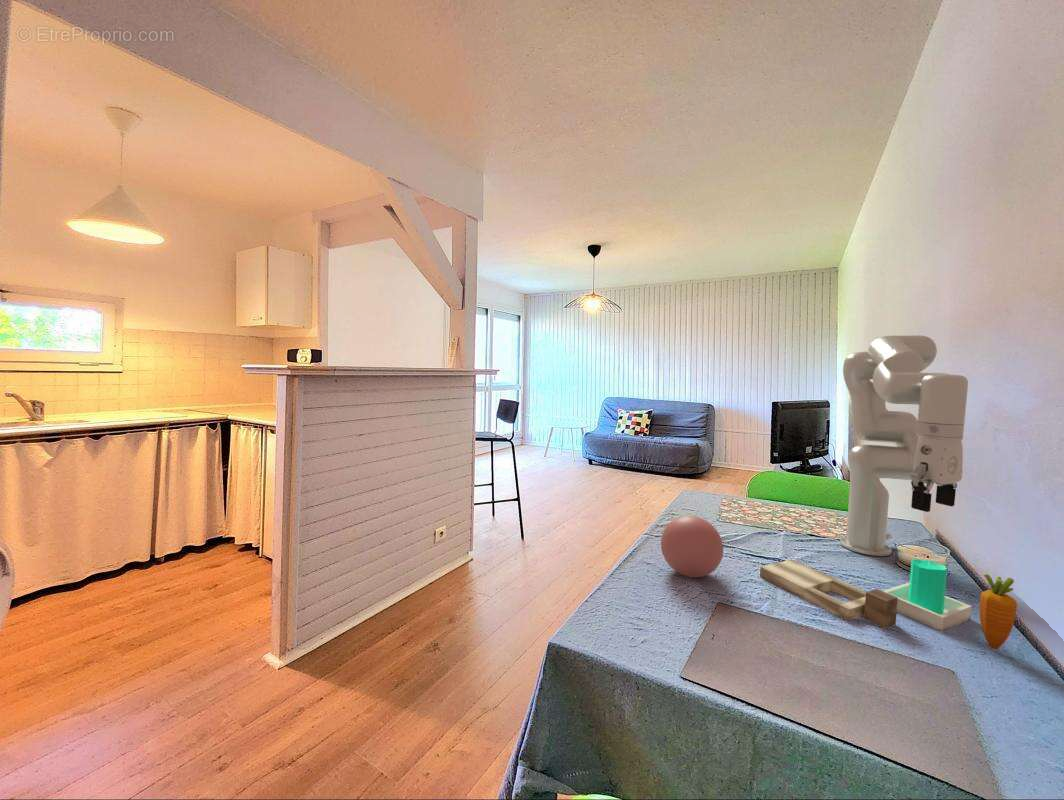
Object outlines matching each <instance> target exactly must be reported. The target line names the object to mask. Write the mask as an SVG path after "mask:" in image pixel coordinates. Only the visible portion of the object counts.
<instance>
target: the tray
mask: <svg viewBox="0 0 1064 800" xmlns="http://www.w3.org/2000/svg"><path fill="white" fill-rule="evenodd" d="M909 585H910V581H909V582H906V583H903V584H899V585H897V586H894V587H891V588H888V589H884V590H882V591H883V592H886V593H888V594H891V595H893V596H895V597H898V601H897V613H900V614H902V615H904V616H907V617H909V618H911V619H913V620H916V621H918V622H920V623H922V624H925V625H927V626H929V627H931V628H933V629H936V630H938V631H941V632H943V631H947V630H949V629H951V628H952V627H955V626H958V625H961V624H962V622H963V623H965V622H968V621H969V620H968V619H970V618H972V608H973V606H972V605H970V604H967V603H964V602H963V601H959V600H957V599H955V598H952V597H949V596H947V595H945V601H944V612H943V614H941V615H940V614H937V613H935V612H933V611H930V610H928V609H925V608H923V607H921V606H918V605H916V604H913V603H911V602H909V601H908V597H909ZM970 620H971V619H970Z"/></svg>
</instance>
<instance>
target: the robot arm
mask: <svg viewBox="0 0 1064 800" xmlns="http://www.w3.org/2000/svg"><path fill="white" fill-rule="evenodd" d="M937 352H938V349H937V345H936V343H935V341H934V340H933V339H932V338H931V337H929V336H926V335H920V334H919V335H915V334H914V335H913V334H911V335H885V336H881V337H877V338H876V339H874V340H873V341H872V342H871V343H870V345H869V346H868V351H859V352H853V353H851V354H849V355H847V356H846V358H844V361H843V368H842V375H843V381H844V383H845V386H846V388H847V390H848V393H849V396H850V401H851V402H850V403H851V404H850V405H851V421H852V423H851V424H852V425H851V426H852V431H853V435H854V437H855V438H856V439H858V440H860V441H866V442H878V443H891V444H892V443H894V444H895V445H896V446H889V445H881V444H880V445H878V444H860V445H855V446H854V447H852V448H851V449H850V450H849V452H848V455H847V457H848V458H847V461H848V470H849V495H848V507H847V508H848V511H847V522H846V523H847V524H846V536H843V537H840V539H839V543H840V544H839V545H841V546H843V547H844V548H846V549H847V550H850V551H853V552H855V553H859V554H862V555H863V554H864V555H867V556H872V557H873V556H875V557H885V556H886V557H889V556H890V555H891V554H892V548H891V547H890V545H887V544H886V541H887V540H890V539H891V540H892V537H893V536H892V534H891V533H890V532H887V528H888V527H887V525H888V517H889V513H888V512H889V504H890V503H889V502H890V501H889V500H890V494H889V491H888V489H887V488H886V486H885V485H884V484H883V483H882V482H881V479H892V480H903V481H904V480H905V481H910V483H911V491H912V493H911V504H910V505H911V508H912V509H914V510H918V511H922V512H925V513H929V512H931V505H932V493H930V492H931V490H932V489H933V486H934V484H936V493H935V504H939V505H943V506H949V507H954V506H955V503H956V491H957V490H956V488H957V487H958V482H961V481H962V477H963V464H964V463H963V460H964V459H963V458H964V457H963V455H964V454H963V439H964V429H965V421H966V419H965V418H966V411H967V399H968V388H969V381H968V380H969V379H967V377H966V376H964V375H959V374H950V373H943V372H923V371H924V370H926V369H927V368H929V366H931V365H932V363H934V361H935V359H936V357H937V354H938V353H937ZM871 380H872V381H871ZM886 403H889V404H893V405H918V412H917V413H918V414H917V417H916V416H915V415H914V414H912V413H911V412H907V411H900V410H899V411H898V410H896V411H895V410H888V409H887V405H886ZM925 484H926V485H925Z"/></svg>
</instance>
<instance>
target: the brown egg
mask: <svg viewBox="0 0 1064 800" xmlns="http://www.w3.org/2000/svg"><path fill="white" fill-rule="evenodd" d="M660 538H661V539H660V549H661V552H662V553H661V554H662V556H663V557H664V560H665V561H666V563H667V565H668V566H669V567H670V568H672V570H674V571H675V572H676V573H678V574H680V575H681V576H685V577H688V578H702V577H706V576H708V575H710V574H712V573H713V572H714V571H715V570H717V568H718V567H719V566H720V564H721V562H722V559H723V557H724V556H723V555H724V544H723V543H724V542H723V540H722V536H721V534H720V532H719V531H718V530H717V528H716V527H715V526H714V525H713V524H712V523H711V522H709V521H708V520H706V519H704V518H702V517H700V516H697V515H682V516H678V517H676V518H674V519H672V520H671V521H669V523H668V524H667V525H666V526H665V527H664V529H663V531H662V533H661V537H660Z"/></svg>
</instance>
